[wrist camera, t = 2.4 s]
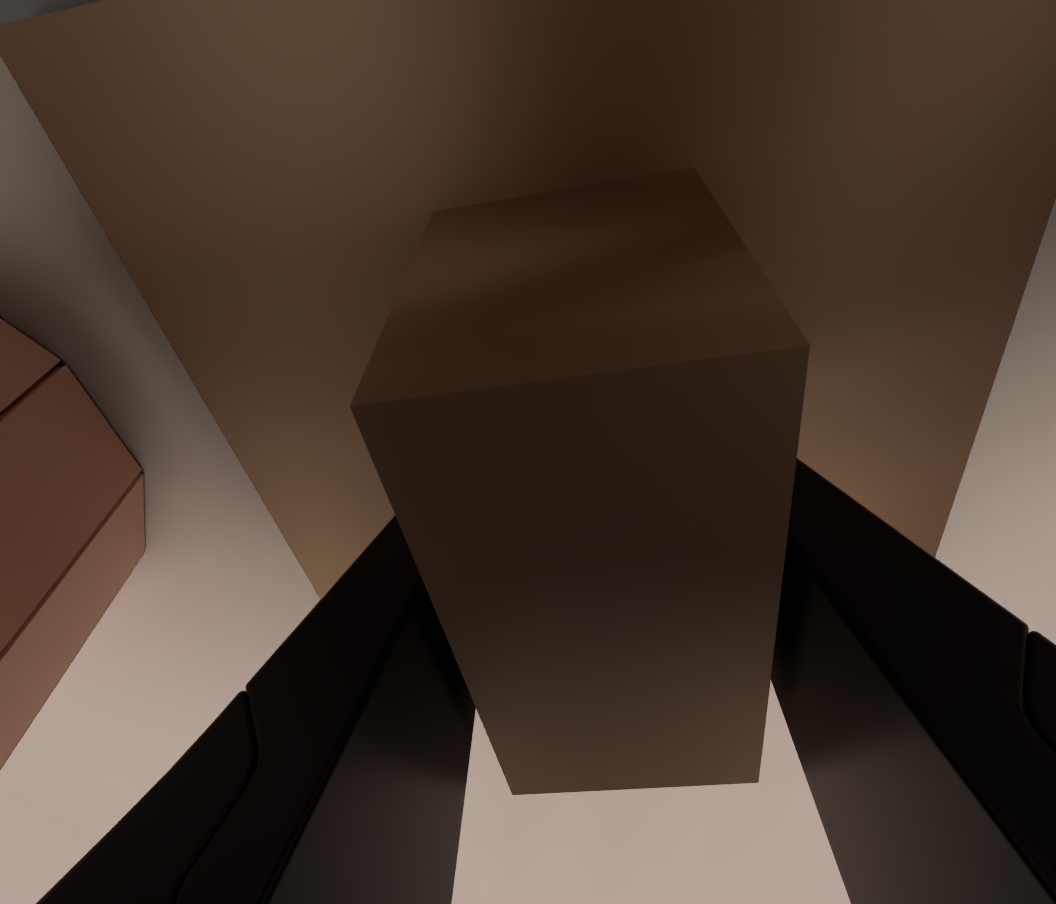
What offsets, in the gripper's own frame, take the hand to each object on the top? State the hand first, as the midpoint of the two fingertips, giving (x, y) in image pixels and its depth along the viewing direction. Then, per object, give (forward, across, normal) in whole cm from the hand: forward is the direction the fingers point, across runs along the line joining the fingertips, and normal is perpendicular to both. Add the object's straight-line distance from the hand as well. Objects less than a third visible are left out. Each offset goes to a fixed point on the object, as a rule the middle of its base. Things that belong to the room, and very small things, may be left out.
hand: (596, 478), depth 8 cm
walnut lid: (+2, 0, 0) cm, 2 cm away
